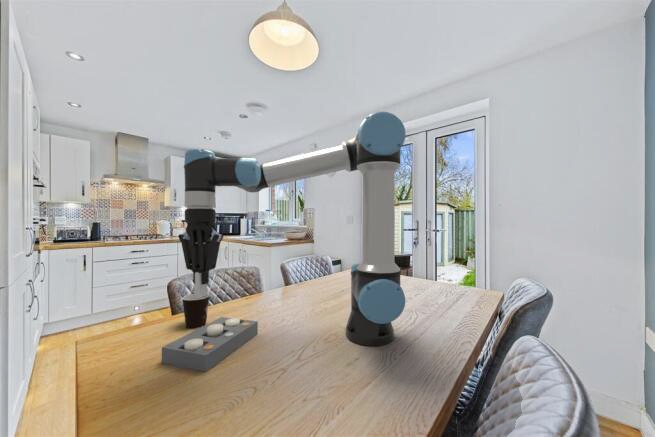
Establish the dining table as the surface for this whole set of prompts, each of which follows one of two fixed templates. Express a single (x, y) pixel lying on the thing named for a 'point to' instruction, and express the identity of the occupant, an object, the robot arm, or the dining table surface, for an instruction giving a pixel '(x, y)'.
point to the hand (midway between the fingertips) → (201, 296)
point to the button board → (209, 345)
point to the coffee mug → (195, 310)
